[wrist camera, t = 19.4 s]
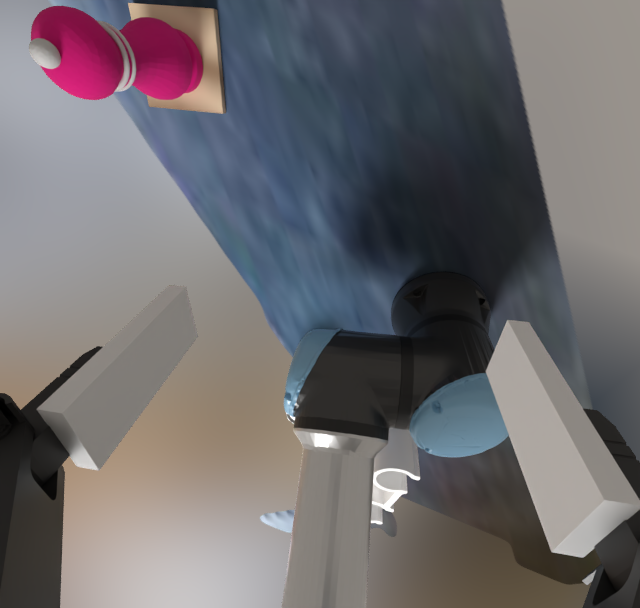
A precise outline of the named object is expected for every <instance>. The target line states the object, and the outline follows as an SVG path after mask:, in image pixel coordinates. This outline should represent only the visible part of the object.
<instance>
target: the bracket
mask: <svg viewBox="0 0 640 608" xmlns="http://www.w3.org/2000/svg"><path fill="white" fill-rule="evenodd" d="M406 474H407V475H409V476H410V477H411V478H412V479H415V480H420V471H419V461H418V451H417V444H416V443H415V442H414V440H413V438H412V436H411V434H410V431H409V430H403V429H396V428H389V436H388V444H387V445H386V446H385V447H384V448H383V449H382V450H381V451H380V452H379V453H378V454H377V455H376V457H375V459H374V476H373V494H372V512H371V523H377V524H382V508H384V509H385V510H386V511H390V512H393V511H394V502H395V501H396V500H397V499H398V498H399V497H400V496H401V495H402V494H406V493H407V478H406Z"/></svg>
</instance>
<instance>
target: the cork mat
mask: <svg viewBox="0 0 640 608" xmlns="http://www.w3.org/2000/svg"><path fill="white" fill-rule="evenodd" d="M128 5H129V10H130V15H131V20H134V19H137V18H140V17H151V18H156V19H160V20H162V21H164V22H166V23H167V24H169V25H170V26H172V27H173V28H175V29H178V30H181V31H182V32H184V33H185V34H187V35H188V36H189V37H190V38H191V39H192V40H193V42H194V43H195V44H196V46H197V48H198V50H199V52H200V55H201V58H202V63H203V75H202V79H201V82H200V84H199V86H198V87H197V88H196V89H195V90H194V91H192V92H189V93H184V94H183V95H182V96H180V97H178V98H176V99H173V100H160V99H156V98H153V97H151V96H148V95H147V98H148V103H149V107H160V108H170V109H180V110H191V111H201V112H211V113H222V114H223V113H226V107H225V95H224V84H223V72H222V61H221V49H220V37H219V26H218V14H217V10H216V9H212V8H197V7H182V6H167V5H152V4H137V3H128Z"/></svg>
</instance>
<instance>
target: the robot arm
mask: <svg viewBox="0 0 640 608" xmlns="http://www.w3.org/2000/svg"><path fill="white" fill-rule="evenodd" d="M490 316H491V312H490V306H489V302H488V300H487V298H486V296H485V294H484V292H483V290H482V289H481V287H480V286H479V285H478V284H477V283H475V282H474V281H473V280H471V279H470V278H468V277H466V276H463V275H460V274H456V273H451V272H436V273H430V274H426V275H423V276H420V277H418V278H416V279H414V280H412V281H410V282H409V283H408V284H406V285H405V286H404V287H403V288H402V289H401V290H400V291H399V292H398V294H397V295H396V297H395V299H394V301H393V304H392V308H391V320H392V326H393V329H394V332H395V334H396V335H387V334H376V333H365V332H355V331H346V330H343V329H336V330H329V329H314V330H311V331H309V332H308V333H307V334H306V335H305V336H304V337H303V338H302V340H301V341H300V343H299V345H298V347H297V349H296V351H295V354H294V357H293V360H292V363H291V366H290V369H289V373H288V377H287V382H286V388H285V389H286V393H285V397H284V409H285V411H286V413H287V414H289V415H290V416H291V417H295V422H294V429H293V431H294V433H295V434H296V435H297V437H298V439H299V440H300V441H301V443H302V445H303V454H302V462H301V470H300V477H299V484H298V491H297V499H296V506H295V513H294V521H293V528H292V535H291V543H290V550H289V557H288V565H287V572H286V579H285V587H284V595H283V602H282V608H366V599H367V582H368V564H369V547H370V546H369V545H370V529H371V512H372V494H373V476H374V459H375V457H376V455H377V454H378V453H379V452H380V451H381V450H382V449H383V448H384V447H385V446H386V445H387V444H388V436H389V428H396V429H403V430H409V431H410V434H411V436H412V438H413V440H414V442H415V443H416V444H417V446H418V447H420V448H421V449H425V451H426V452H428V453H430V454H433V455H437V456H442V457H464V456H470V455H474V454H478V453H481V452H484V451H486V450H487V449H490V448H493V447H495V446H496V445H498V444H499V443H501V442H502V441H503V440H505V439H506V438H507V437H508V436H509V437H510V439H511V442H512V445H513V448H514V450H515V453H516V456H517V458H518V461H519V464H520V467H521V469H522V472H523V475H524V478H525V480H526V483H527V486H528V489H529V491H530V494H531V497H532V500H533V502H534V505H535V508H536V511H537V513H538V516H539V519H540V521H541V524H542V527H543V530H544V532H545V535H546V538H547V541H548V543H549V546H550V549H551V552H554V553H560V554H565V555H571V556H577V557H582V558H583V557H585V556H586V555H587V554H588V553H589V552H590V551H592V550H593V549H594V548H595V549H596V552H597V554H598V556H599V558H600V560H601V562H602V564H601V565H599V566H598V567H597V568H596V569H594V570H593V571H592V572H590V573H589V574H588V575H587V576H586V577H585V578H584V579H583V580H582V581H583V582H584V583H585V584H587V585H588V584H589V583H590V582H592V583H591V586H590V589H589V592H588V595H587V597H586V600H585V603H584V605H583V608H640V462H639V461H637V460H636V456H635V455H634V453H633V452H632V450H631V449H630V448H629V446H626V442H625V440H624V439H623V437H622V436H621V435H620V433H619V432H618V430H617V429H616V427H615V426H614V425H613V424H612V423H611V422H610V421H609V420H607V419H606V418H605V417H604V416H603V415H602V414H601V413H600V412H599V411H597V410H590V409H583V408H582V407H581V405H580V404H579V402H578V400H577V399H576V397H575V396H574V394H573V392H572V391H571V389H570V388H569V386H568V384H567V383H566V381H565V380H564V378H563V376H562V375H561V373H560V372H559V370H558V368H557V367H556V365H555V364H554V362H553V360H552V359H551V357H550V356H549V354H548V352H547V351H546V349H545V348H544V346H543V344H542V343H541V341H540V339H539V338H538V336H537V335H536V333H535V331H534V330H533V328H532V327H531V325H530V323H529V322H522V321H513V320H507V322H506V325H505V327H504V329H503V332H502V334H501V336H500V339H499V341H498V344H497V346H496V348H495V350H494V348H493V345H492V343H491V341H490V338H489V336H488V332H489V324H490ZM197 337H198V335H197V330H196V326H195V322H194V318H193V314H192V309H191V306H190V301H189V297H188V293H187V289H186V287H184V286H174V285H169V286H168V287H167V288H166V289H165V290H164V291H163V292H161V294H159V295H158V296H157V297H156V298H155V299H154V300H153V301H152V302H151V303H150V304H149V305H148V306H146V307H145V308H144V309H143V310H142V311H141V312H140V313H139V314H138V315H137V316H136V317H135V318H134V319H133V320H131V321H130V322H129V323H128V324H127V325H126V326H125V327H124V328H123V329H122V330H121V331H120V332H119V333H118V334H116V335H115V336H114V337H113V338H112V339H111V340H110V341H109V342H108V343H107V344H106V345H105V346H104V347H99V346H98V347H96V348H94V349H92V350H90V351H89V352H87V353H85V354H83V355H82V356H81V357H79V358H78V359H77V360H76V361H75V362H74V363H73V364H72V365H71V366H70V368H67V369H66V370H65V371H64V372H63V373H62V374H60V377H57V378H56V379H55V380H54V381H53V382H52V383H50V384H49V385H48V386H47V387H46V388H45V389H44V390H43V391H41V392H40V394H38V395H37V396H36V397H35V398H34V399H33V400H31V401H30V402H29V403H28V404H27V405H26V406H25V407H24V408H23V409H21V410H20V409H19V408H18V406H17V405H16V404H15V402H14V401H13V400H12V398H11V397H10V396H8V395H7V394H5V393H0V608H60V591H61V589H60V588H61V563H62V535H63V506H64V479H65V472H64V468H63V466H62V464H63V463H64V461H65V460H66V459H67V458H68V457H69V456H70V457H71V459H72V460H73V462H74V463H75V464H76V466H77V467H82V468H88V469H93V470H100V469H101V467H102V466H103V465H104V463H105V462H106V461H107V459H108V458H109V457H110V455H111V454H112V452H113V451H114V450H115V448H116V447H117V446H118V444H119V443H120V442H121V440H122V439H123V438H124V436H125V435H126V433H127V432H128V431H129V429H130V428H131V427H132V425H133V424H134V422H135V421H136V420H137V418H138V417H139V416H140V414H141V413H142V412H143V410H144V409H145V408H146V406H147V405H148V404H149V402H150V401H151V400H152V398H153V397H154V395H155V394H156V393H157V391H158V390H159V389H160V387H161V386H162V384H163V383H164V382H165V380H166V379H167V378H168V376H169V375H170V374H171V372H172V371H173V370H174V368H175V367H176V366H177V364H178V363H179V361H180V360H181V359H182V357H183V356H184V354H185V353H186V352H187V351H188V349H189V348H190V347H191V345H192V344H193V342H194V341H195V340H196V338H197Z"/></svg>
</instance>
